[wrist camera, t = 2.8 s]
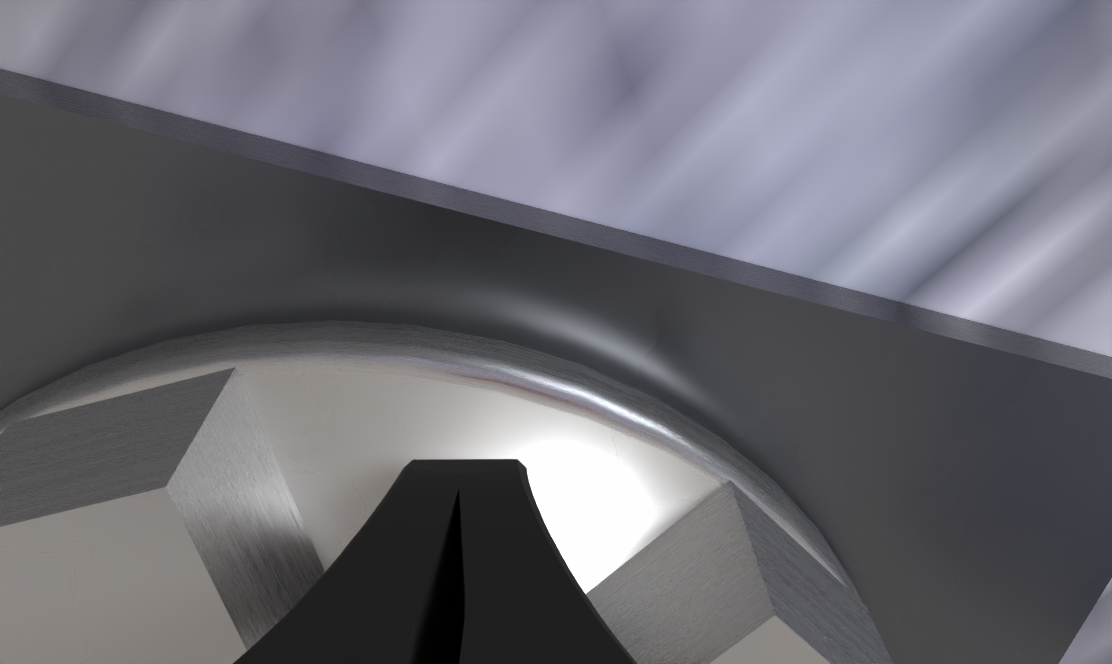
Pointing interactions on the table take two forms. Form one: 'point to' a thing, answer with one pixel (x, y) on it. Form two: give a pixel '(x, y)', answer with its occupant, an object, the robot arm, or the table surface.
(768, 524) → the metal disc with lugs
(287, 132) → the table surface
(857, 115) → the table surface
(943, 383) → the mount plate
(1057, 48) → the table surface
